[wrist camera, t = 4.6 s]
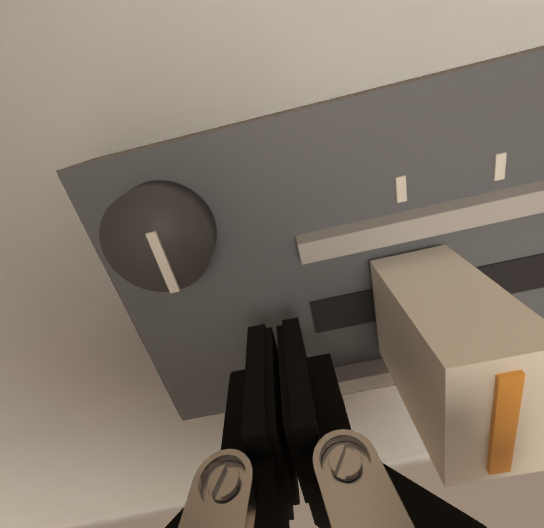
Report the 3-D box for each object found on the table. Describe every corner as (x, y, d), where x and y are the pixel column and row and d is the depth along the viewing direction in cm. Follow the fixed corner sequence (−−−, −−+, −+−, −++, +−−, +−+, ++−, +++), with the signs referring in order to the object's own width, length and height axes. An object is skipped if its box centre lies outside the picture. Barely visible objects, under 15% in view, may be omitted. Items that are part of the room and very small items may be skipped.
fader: (369, 261, 11) (448, 373, 6) (445, 244, 11) (582, 347, 6) (379, 351, 13) (446, 491, 8) (445, 339, 13) (551, 474, 8)
